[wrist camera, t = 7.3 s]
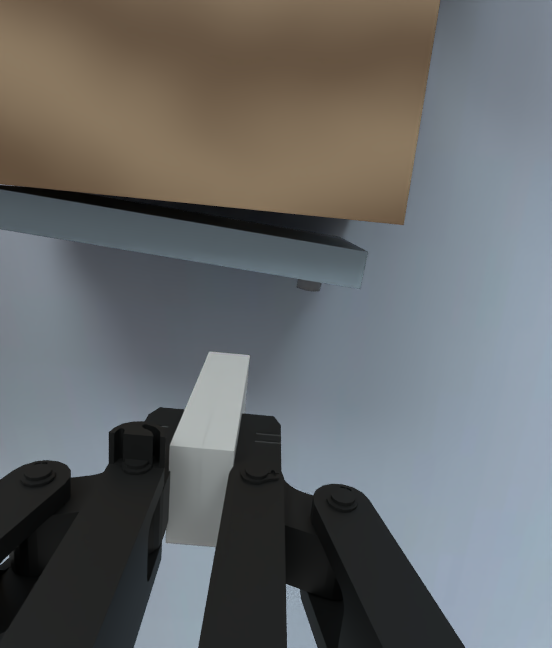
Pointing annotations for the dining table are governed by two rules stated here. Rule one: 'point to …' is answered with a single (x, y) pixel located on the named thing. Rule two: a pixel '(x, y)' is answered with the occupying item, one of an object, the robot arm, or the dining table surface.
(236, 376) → the robot arm
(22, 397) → the dining table surface
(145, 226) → the door
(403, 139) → the cabinet
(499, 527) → the dining table surface
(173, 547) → the dining table surface
